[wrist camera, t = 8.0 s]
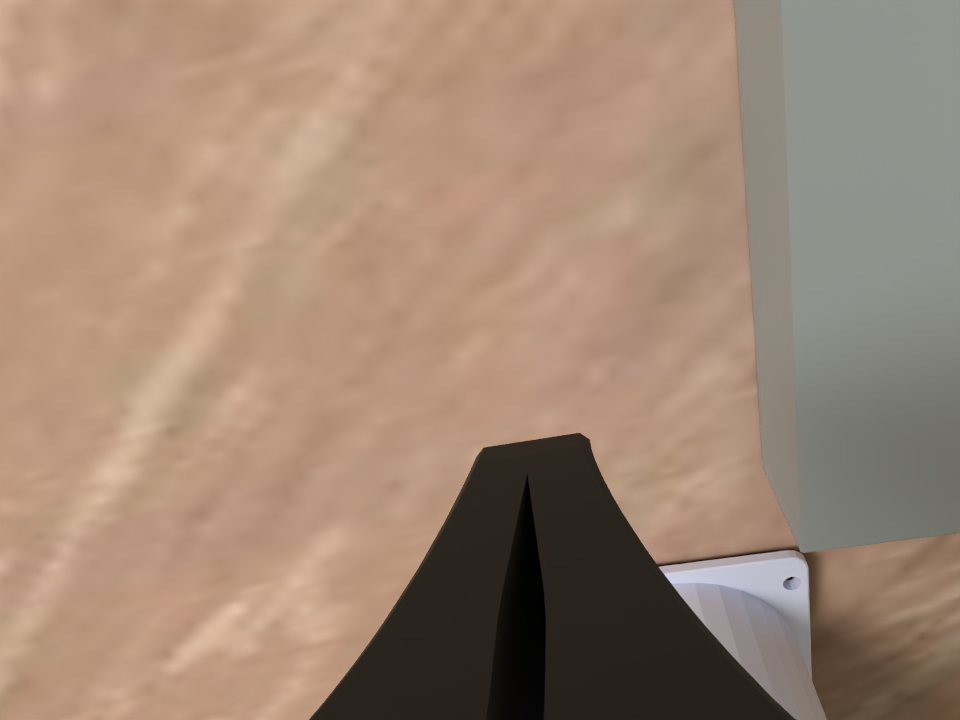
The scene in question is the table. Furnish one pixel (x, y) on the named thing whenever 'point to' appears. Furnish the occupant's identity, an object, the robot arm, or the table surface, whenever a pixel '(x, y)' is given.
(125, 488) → the table surface
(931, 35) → the button board
